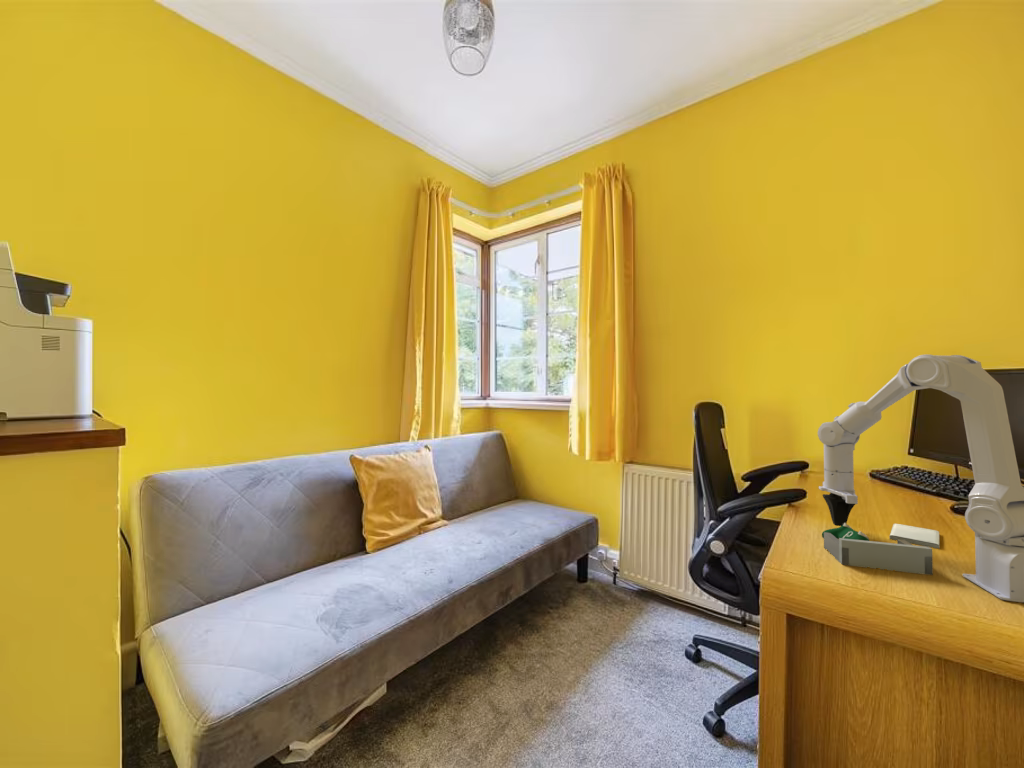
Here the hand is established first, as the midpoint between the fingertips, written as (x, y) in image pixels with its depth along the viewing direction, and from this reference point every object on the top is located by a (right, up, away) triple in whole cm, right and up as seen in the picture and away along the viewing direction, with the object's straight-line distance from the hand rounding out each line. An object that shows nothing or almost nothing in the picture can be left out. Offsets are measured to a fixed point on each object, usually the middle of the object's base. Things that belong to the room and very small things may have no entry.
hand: (839, 525), depth 100 cm
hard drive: (+16, -3, -3) cm, 16 cm away
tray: (-6, -2, -16) cm, 17 cm away
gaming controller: (-5, -2, -7) cm, 9 cm away
